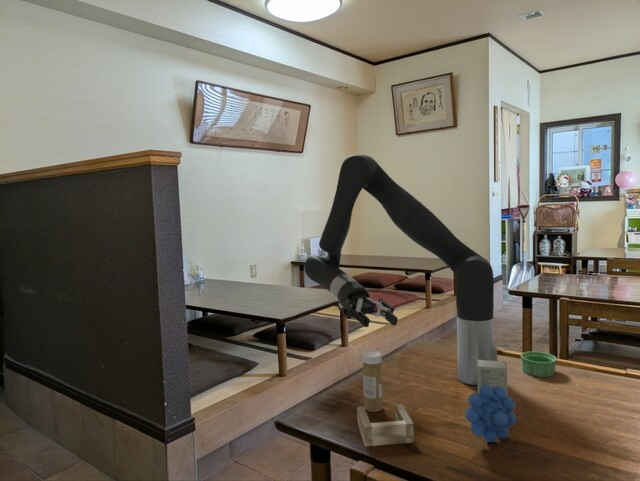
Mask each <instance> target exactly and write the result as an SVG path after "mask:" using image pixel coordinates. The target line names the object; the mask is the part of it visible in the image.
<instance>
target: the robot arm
mask: <svg viewBox="0 0 640 481" xmlns="http://www.w3.org/2000/svg"><path fill="white" fill-rule="evenodd" d="M362 190H365V192H367V193H368V194H370V196H372V197H373V198H375V200H377V202H379V203H380V205H381V206H382V208H383V209H384V211H385V212H386V214H387V215H388V217H389V218H390V220H391V221H392V222H393V224H394V225H395V226H396V227H397V228H398V229H399V230H400V231H402V233H404V235H406V236H407V237H408V238H409V239H410V240H412V241H413V242H414V243H415V244H417V245H418V246H420V247H421V248H424V250H427V251H428V252H430V253H432V254H433V255H434V256H436V257H437V258H439V259H440V260H441V262H443V263H444V264H445V265H446V266H447V267H448V268H449V269H450V270H451V271H452V273H454V275H455V304H456V305H455V306H456V341H457V342H456V344H457V345H456V347H457V349H456V351H457V354H456V356H457V358H456V359H457V360H456V361H457V378H458V380H459V381H460V382H462V383H463V384H464V383H465V384H466V385H471V386H478V373H477V360H493V361H498V350H497V349H498V348H497V346H496V345H495V344H494V310H495V308H494V304H495V303H494V290H495V288H494V283H495V282H494V271H493V267H492V265H491V264H490V262H489V261H488V260H487V258H485V257H483V256H481V255H480V254H479V253H478V252H476V251H475V250H473V249H471V248H470V247H469V246H467V245H466V244H465V243H463V242H462V241H461V240H460V239H459V238H458V237H457V236H456V235H454V233H453V232H452V231H451V230H450V229H449V228H448V227H447V225H446V224H444V223H443V221H442V220H440V218H438V217H437V216H436V215H435V214H434V213H433V212H432V211H431V210H430V209H429V208H428V207H426V205H424V204H423V203H422V202H421V201H419V200H418V199H417V198H416V197H415V196H414V195H412V194H410V192H408V191H407V190H406V189H404V188H403V187H402V186H401V185H399V184H398V183H397V182H396V181H394V180H393V179H392V177H391V176H390V175H389V174H388V173H387V172H386V171H385V170H384V169H383V167H381V166H380V164H378V162H377V161H376V160H375V159H374V158H372V156H370V155H367V154H352V155H349V156H348V157H346V158H345V159H344V160H343V162H342V163H341V166H340V170H339V175H338V179H337V185H336V190H335V194H334V197H333V201H332V206H331V208H330V212H329V215H328V218H327V220H326V222H325V224H324V229H323V231H322V233H321V236H320V239H319V242H318V245H319V248H320V249H321V250H322V251H323V252H326V253H327V256H323V255H321V256H320V255H311V256H309V257H307V259H306V260H305V262H304V266H303V267H304V268H303V269H304V272H305V275H306V276H307V277H308V279H310V280H311V281H313V282H314V283H316V284H318V285H320V286H322V287H324V288H325V289H326V290H327V291H328V292H330V294H332V296H333V298H335V300H336V301H337V303H338V306H337V309H338V310H339V311H340V313H341V314H342V315H343V316H344V317H345V318H346V319H347V320H351V319H353V320H355V321H357V322H359V324H360V325H362V326H363V327H364V328H369V325H370V322H371V320H370V318H369V317H368V316H367V315H372V316H374V317H376V318H379V317H382V318H383V319H384V320H386V321H387V322H388V323H389V324H390V325H391V326H397V324H398V317H397V316H396V315H395V314H394V311H395V309H396V308H395V307H394V306H392V305H391V304H390V303H389V302H387V301H386V300H385V299H383V298H381V297H379V299H378V300H376V301H375V299H373V298H371V297H370V294H369V291H368V290H367V289H366V287H364V286H363V285H362V284H360V283H359V282H358V281H357V280H356V279H355V278H353V277H352V276H350V275H349V274H347V273H346V272H345V271H344V270H342V269H341V268H340V267H341V256H342V248H343V246H344V244H345V241H346V239H347V236H348V233H349V230H350V227H351V223H352V222H351V221H352V217H353V216H352V215H353V210H354V207H355V203H356V201H357V199H358V197H359V196H360V193H361V191H362ZM376 308H377V311H376Z"/></svg>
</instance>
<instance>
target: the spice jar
mask: <svg viewBox="0 0 640 481" xmlns="http://www.w3.org/2000/svg"><path fill="white" fill-rule="evenodd" d="M382 361H383V358H382V353H381V351H376V350H367V351H364V352H363V353H362V354H361V362H362V370H363V371H362V372H363V374H362V377H363V378H362V380H363V398H364V402H363V403H364V404H363V407H364V408H365V411H366V412H367V411H368V412H371V413H376V412H377V413H378V412H380V411H382V410H383V409H384V405H383V382H382V380H383V378H382Z"/></svg>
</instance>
